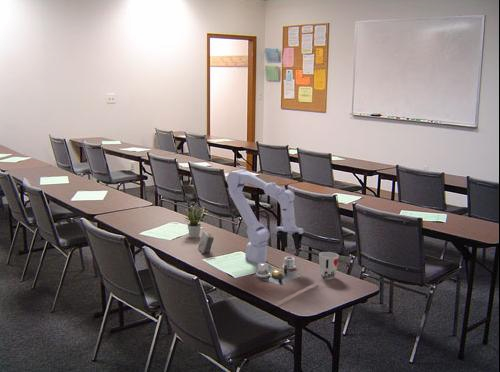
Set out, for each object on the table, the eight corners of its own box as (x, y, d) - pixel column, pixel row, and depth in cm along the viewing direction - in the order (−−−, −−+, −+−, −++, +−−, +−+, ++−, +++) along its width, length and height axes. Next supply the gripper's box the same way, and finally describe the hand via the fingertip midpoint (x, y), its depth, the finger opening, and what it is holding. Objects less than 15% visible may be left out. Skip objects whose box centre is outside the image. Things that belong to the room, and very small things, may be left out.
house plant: (212, 232, 285) (212, 203, 282) (207, 240, 271) (207, 209, 268) (186, 231, 286) (186, 202, 283) (180, 238, 273) (180, 208, 269)
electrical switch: (197, 248, 258) (199, 230, 256) (207, 248, 259) (209, 230, 258) (202, 254, 249) (204, 235, 247) (212, 254, 250) (214, 235, 249)
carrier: (251, 278, 219) (252, 269, 218) (273, 269, 230) (273, 260, 229) (280, 288, 209) (281, 278, 209) (301, 278, 221) (302, 268, 220)
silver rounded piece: (252, 275, 219) (253, 264, 218) (261, 272, 223) (261, 260, 222) (264, 279, 215) (264, 267, 214) (272, 275, 220) (273, 264, 219)
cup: (322, 281, 218) (324, 258, 216) (315, 274, 225) (316, 252, 223) (340, 279, 220) (341, 257, 218) (332, 273, 228) (333, 251, 226)
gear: (279, 269, 231) (280, 258, 230) (287, 265, 236) (287, 255, 235) (290, 272, 227) (291, 261, 226) (298, 268, 232) (298, 258, 231)
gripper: (306, 217, 225) (309, 247, 226) (282, 215, 235) (285, 244, 237) (295, 220, 220) (298, 251, 222) (271, 218, 231) (274, 248, 232)
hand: (291, 248), depth 229 cm, fingers open, 7 cm apart
